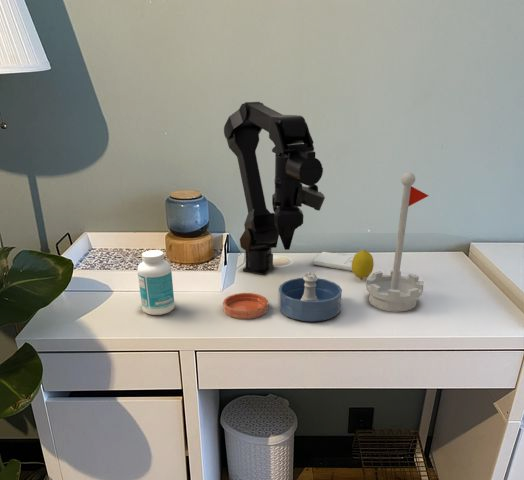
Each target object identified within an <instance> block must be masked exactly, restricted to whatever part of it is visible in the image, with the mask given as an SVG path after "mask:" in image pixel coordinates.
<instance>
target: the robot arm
mask: <svg viewBox="0 0 524 480" xmlns="http://www.w3.org/2000/svg"><path fill="white" fill-rule="evenodd" d="M262 130H264V131H266V132H268V138H269V140H270V141H271V142H273V144H274V146H273V148H272V149H271V152H272V153H274V154H275V156H274V157H275V158H274V159H275V161H274V163H275V164H274V169H275V170H274V192H273V194H272V195H271V203H272V204H271V205H272V210H273V212H270V211H269V210H268V208H267V204H266V199H265V194H264V188H263V184H262V178H261V173H260V169H259V162H258V158H257V153H256V151H257V148H258V146H259V142H260V133H261V132H262ZM223 134H224V138H225V139H226V142H227V145H228V148H229V150H231V152H232V153H233V154H234V155H235V156H236V159H237V162H238V163H237V164H238V169H239V173H240V178H241V183H242V187H243V192H244V198H245V204H246V208H247V216H246V218H245V220H244V226H243V227H244V231H243V233H242V235H241V236H240V238H239V245H240V248H241V249H243V250H244V251H245V266H244V267H243V268H242V271H243V272H246V273H251V274H258V275H266V274H267V273H269V272H270V271H271V270H272V269H274V268H275V265H274V254H273V252H272V249H275V248H277V247H278V241H279V239H280V241H281V243H282V246H283V249H284V250H285V251H288V250H290V248H291V244H292V241H293V238H294V235H295V231H296V230H297V229H298V228H299V227H301V226H303V224H304V212H303V210H302V209H301V207H302V205H304V206H307V207H310V208H311V209H312V208H313V210H315V211H317V212H318V211H319V212H320V211H321V209H322V206H323V204H324V201H325V199H326V197H325V194H324V193H322V191H319V186H318V185H317V183H319V182H320V180H321V179H322V176H323V174H324V168H323V164H322V162H321V160H319V159H318V158H316V151H315V147H314V140H313V138H312V135H311V131H310V128H309V126H308V123H307V122H306V119H305V118H304V116H302V115H298V114H282V113H280V112H278V111H276V110H275V109H272V108H270V107H268V106H266V105H265V104H264V103H263V102H261V101H245V102H244V103H241V105H240V107H239V109H237V110H236V111H235V112H233V113H231V115H229V116H228V118H227V120H226V122H225V123H224V126H223ZM303 185H304V186H303Z"/></svg>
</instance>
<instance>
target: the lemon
mask: <svg viewBox="0 0 524 480" xmlns="http://www.w3.org/2000/svg"><path fill="white" fill-rule="evenodd" d="M353 256H354V258H353V261H352V271H351V272H352V274H353V275H354V276H355V277H357V278H358V279H359V280H361V281H362V280H364V279H366V278H367V277H368V276H369V277H370V275H372V273H373V270H374V265H375V264H374V263H375V262H374V257H373V255H372V254H371V253H370V252H369V251H367V250H366V249H362V250H360V251H358V252H357V253H355V254H354V255H353Z"/></svg>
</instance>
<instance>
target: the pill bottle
mask: <svg viewBox="0 0 524 480" xmlns="http://www.w3.org/2000/svg"><path fill="white" fill-rule="evenodd" d="M141 258H142V259H141V260H142V262H140V263H139V264H138V266H137V270H136V271H137V278H138V279H137V280H138V286H139V287H138V288H139V292H140V293H139V294H140V302H141V303H140V304H141V309H142V311H143V313H146V314H149V315H153V316H160V315H166V314H169V313H170V312H172V311H173V310H174V308H175V296H174V295H175V294H174V284H173V273H172V265H171V264H170V262H169V261H167V260H164V259H165V254H164V251H163V250H160V249H151V250H146V251H144V252H142V253H141Z"/></svg>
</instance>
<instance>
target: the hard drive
mask: <svg viewBox="0 0 524 480" xmlns="http://www.w3.org/2000/svg"><path fill="white" fill-rule="evenodd" d="M354 256H355V255H348V254H340V253H335V252H329V251H321V252H320V253H319V254H318V255H317V256H316V257H314V259H313V261H312V265H313V266H319V267H325V268H330V269H337V270H343V271H349V272H353V271H352V261H353V258H354Z"/></svg>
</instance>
